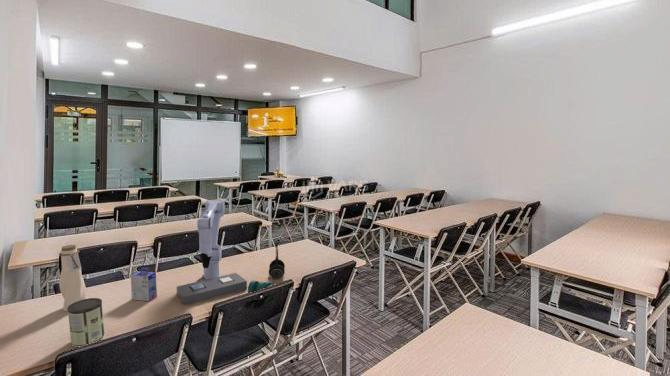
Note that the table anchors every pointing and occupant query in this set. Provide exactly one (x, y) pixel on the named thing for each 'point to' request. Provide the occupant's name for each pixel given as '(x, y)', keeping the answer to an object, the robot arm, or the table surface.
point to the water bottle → (71, 276)
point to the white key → (225, 280)
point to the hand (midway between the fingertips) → (205, 267)
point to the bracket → (258, 285)
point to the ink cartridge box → (143, 285)
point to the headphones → (276, 266)
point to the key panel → (210, 288)
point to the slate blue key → (197, 287)
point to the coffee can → (86, 321)
